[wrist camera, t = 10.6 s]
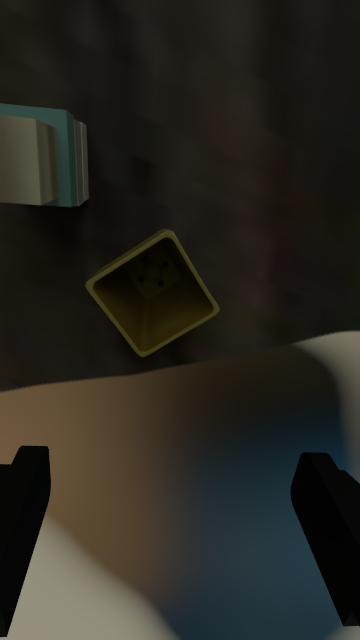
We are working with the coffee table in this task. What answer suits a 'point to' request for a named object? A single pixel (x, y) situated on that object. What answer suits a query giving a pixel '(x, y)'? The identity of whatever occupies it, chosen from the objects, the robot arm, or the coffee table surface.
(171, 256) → the flower pot
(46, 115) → the slab top
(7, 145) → the birch block
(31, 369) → the coffee table surface
